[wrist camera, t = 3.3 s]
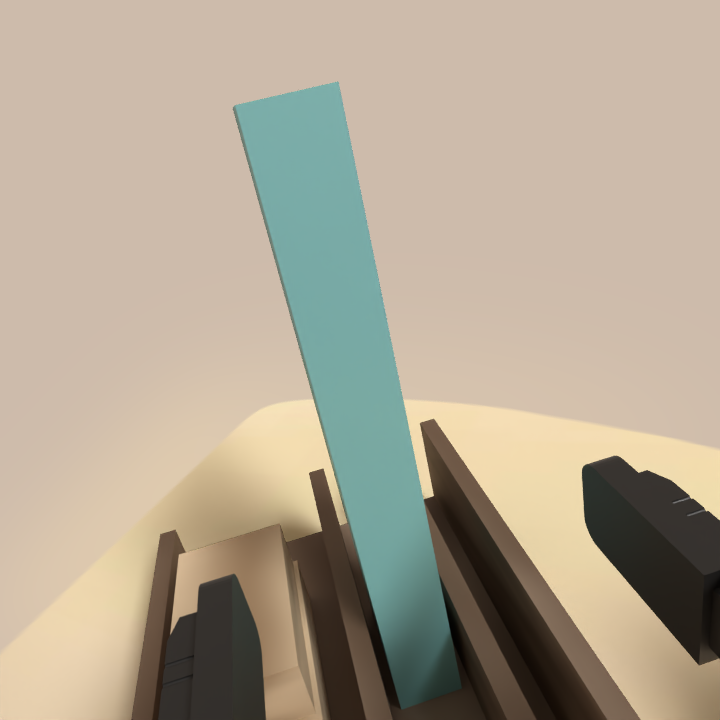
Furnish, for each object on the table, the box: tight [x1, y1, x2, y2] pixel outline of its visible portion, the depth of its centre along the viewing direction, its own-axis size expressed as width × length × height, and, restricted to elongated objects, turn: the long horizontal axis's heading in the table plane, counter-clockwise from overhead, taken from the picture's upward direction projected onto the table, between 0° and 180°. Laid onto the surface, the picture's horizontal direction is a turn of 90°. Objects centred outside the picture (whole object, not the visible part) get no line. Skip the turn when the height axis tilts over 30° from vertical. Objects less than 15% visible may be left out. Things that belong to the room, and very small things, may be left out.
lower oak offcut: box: [293, 560, 331, 720], centre depth 24 cm, size 5×9×2 cm, turn 12°
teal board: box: [233, 82, 462, 710], centre depth 21 cm, size 2×5×22 cm, turn 12°
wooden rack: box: [131, 419, 640, 720], centre depth 24 cm, size 16×18×6 cm
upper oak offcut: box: [170, 523, 316, 720], centre depth 23 cm, size 5×8×2 cm, turn 12°
